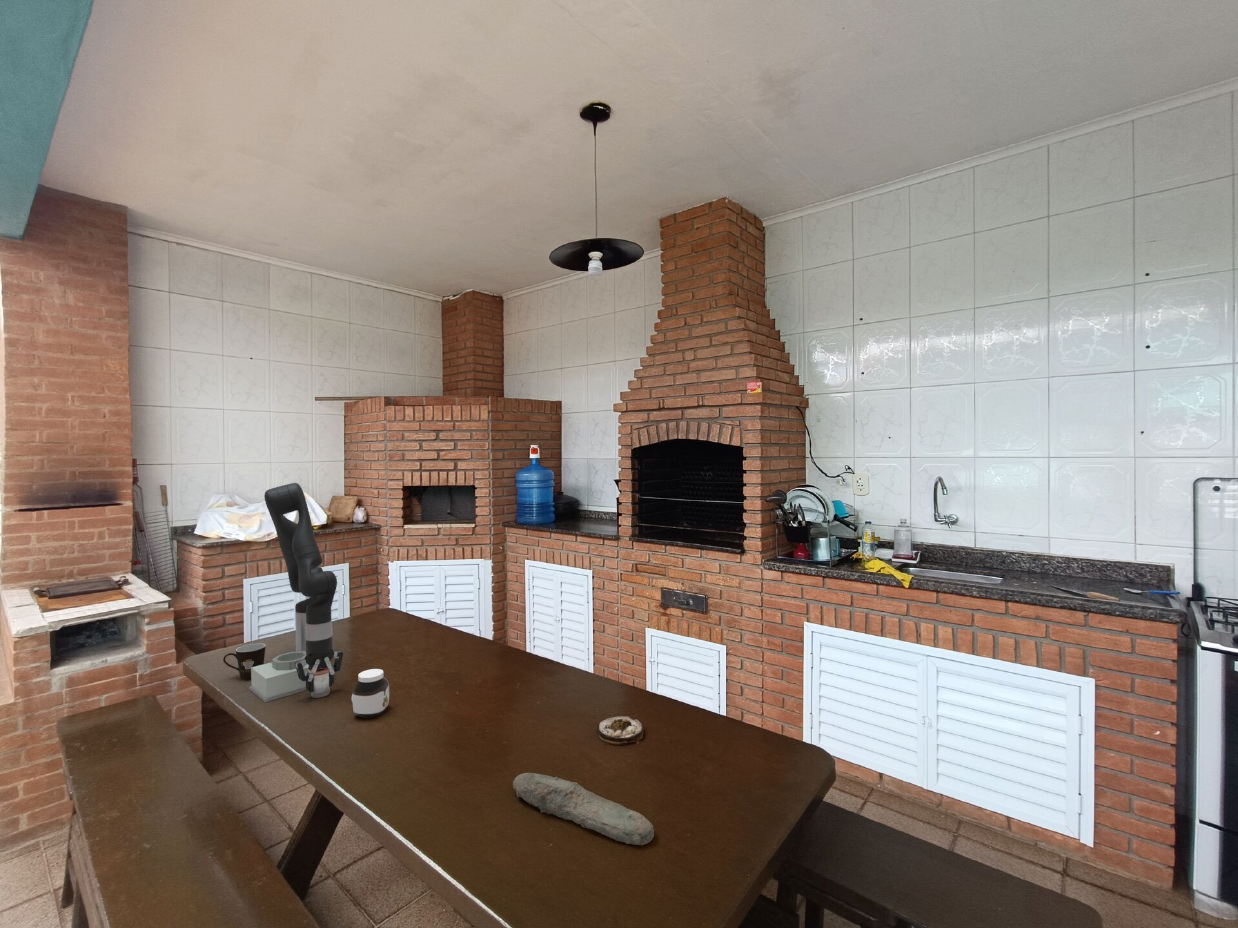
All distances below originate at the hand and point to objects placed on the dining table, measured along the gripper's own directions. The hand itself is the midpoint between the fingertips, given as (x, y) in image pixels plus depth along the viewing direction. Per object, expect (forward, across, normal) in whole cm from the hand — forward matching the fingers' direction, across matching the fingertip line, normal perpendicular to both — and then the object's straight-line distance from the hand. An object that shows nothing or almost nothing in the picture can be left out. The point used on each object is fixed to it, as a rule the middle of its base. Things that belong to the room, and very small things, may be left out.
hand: (320, 688), depth 179 cm
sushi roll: (+2, -43, +88) cm, 98 cm away
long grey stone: (+2, -12, +103) cm, 104 cm away
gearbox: (+2, +3, -15) cm, 15 cm away
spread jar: (+2, -5, +22) cm, 23 cm away
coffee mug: (+2, +10, -35) cm, 36 cm away
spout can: (+2, 0, 0) cm, 2 cm away
